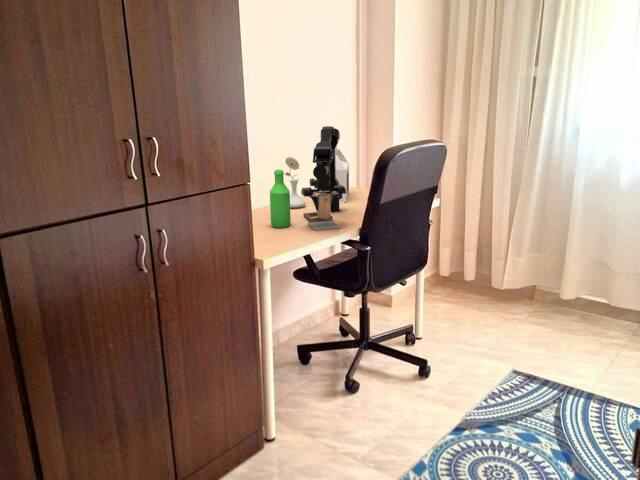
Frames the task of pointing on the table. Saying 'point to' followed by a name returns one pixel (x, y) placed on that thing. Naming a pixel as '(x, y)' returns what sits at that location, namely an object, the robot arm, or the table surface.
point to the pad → (324, 225)
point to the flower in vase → (294, 184)
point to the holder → (314, 214)
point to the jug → (324, 205)
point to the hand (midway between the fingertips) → (323, 210)
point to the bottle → (280, 202)
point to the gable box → (342, 173)
